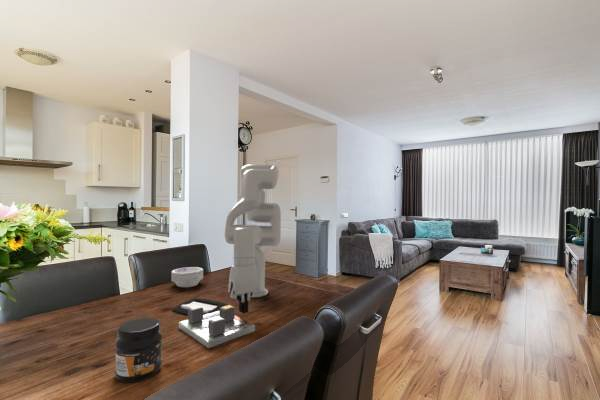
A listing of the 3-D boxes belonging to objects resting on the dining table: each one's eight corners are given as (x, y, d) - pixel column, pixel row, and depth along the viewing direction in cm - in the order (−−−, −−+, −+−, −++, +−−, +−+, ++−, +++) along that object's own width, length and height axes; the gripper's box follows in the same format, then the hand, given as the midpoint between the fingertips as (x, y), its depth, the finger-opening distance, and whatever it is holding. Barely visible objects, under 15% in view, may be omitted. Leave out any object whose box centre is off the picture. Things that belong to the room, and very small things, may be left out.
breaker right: (208, 333, 94) (208, 319, 94) (219, 329, 97) (219, 315, 97) (213, 336, 92) (213, 322, 92) (224, 332, 95) (225, 318, 95)
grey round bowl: (181, 280, 164) (181, 265, 164) (208, 281, 162) (208, 267, 162) (164, 288, 149) (165, 272, 149) (194, 290, 147) (194, 273, 147)
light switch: (167, 307, 119) (194, 294, 131) (168, 314, 119) (194, 301, 131) (206, 316, 110) (231, 301, 123) (207, 324, 110) (231, 308, 123)
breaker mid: (219, 319, 105) (219, 307, 105) (229, 316, 108) (229, 304, 108) (224, 322, 103) (224, 309, 103) (234, 319, 106) (234, 306, 106)
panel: (178, 327, 104) (178, 321, 104) (222, 314, 116) (223, 309, 116) (208, 348, 89) (208, 340, 89) (254, 331, 102) (255, 324, 102)
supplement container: (111, 388, 70) (111, 336, 70) (117, 365, 80) (118, 320, 80) (161, 378, 74) (161, 329, 74) (162, 357, 84) (162, 314, 84)
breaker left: (187, 320, 104) (188, 307, 104) (198, 317, 107) (198, 305, 107) (191, 322, 102) (192, 310, 102) (203, 319, 105) (203, 307, 105)
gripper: (254, 257, 118) (254, 304, 118) (220, 262, 108) (219, 314, 108) (266, 260, 113) (266, 309, 113) (232, 265, 102) (231, 320, 102)
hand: (243, 311), depth 110 cm, fingers closed
